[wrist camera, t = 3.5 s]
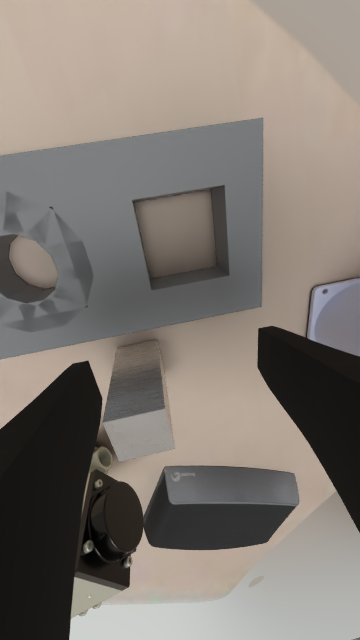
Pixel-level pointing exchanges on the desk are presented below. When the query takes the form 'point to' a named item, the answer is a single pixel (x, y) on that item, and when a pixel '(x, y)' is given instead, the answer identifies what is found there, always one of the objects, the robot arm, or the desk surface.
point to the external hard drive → (218, 507)
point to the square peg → (138, 403)
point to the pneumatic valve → (105, 536)
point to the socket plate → (127, 234)
